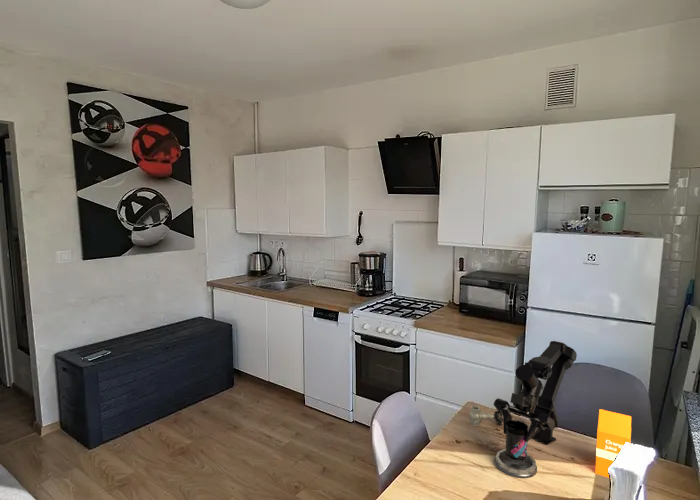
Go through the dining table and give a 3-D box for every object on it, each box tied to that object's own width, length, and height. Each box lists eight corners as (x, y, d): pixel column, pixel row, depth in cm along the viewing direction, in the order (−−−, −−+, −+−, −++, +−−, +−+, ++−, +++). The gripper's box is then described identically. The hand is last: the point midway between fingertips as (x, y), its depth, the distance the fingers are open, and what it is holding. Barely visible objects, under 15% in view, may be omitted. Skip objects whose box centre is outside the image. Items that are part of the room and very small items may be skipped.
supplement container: (505, 459, 137) (506, 428, 136) (504, 448, 143) (505, 418, 142) (528, 462, 135) (529, 431, 134) (526, 451, 141) (527, 421, 140)
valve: (471, 427, 164) (502, 428, 163) (471, 411, 164) (503, 412, 163) (467, 419, 171) (498, 420, 170) (468, 403, 170) (498, 404, 169)
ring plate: (511, 450, 148) (511, 444, 148) (545, 469, 137) (545, 462, 137) (486, 462, 141) (486, 455, 141) (520, 483, 130) (520, 476, 130)
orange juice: (597, 462, 141) (600, 404, 139) (629, 471, 136) (632, 411, 134) (594, 473, 135) (597, 413, 133) (627, 484, 130) (631, 421, 128)
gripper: (496, 375, 146) (480, 417, 140) (552, 391, 133) (537, 438, 126) (506, 390, 152) (491, 431, 146) (560, 407, 139) (546, 452, 133)
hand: (514, 437), depth 137 cm, fingers closed on supplement container, 7 cm apart
